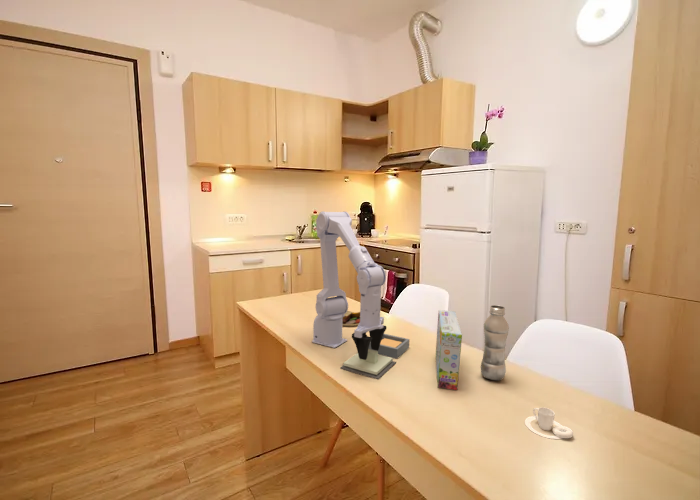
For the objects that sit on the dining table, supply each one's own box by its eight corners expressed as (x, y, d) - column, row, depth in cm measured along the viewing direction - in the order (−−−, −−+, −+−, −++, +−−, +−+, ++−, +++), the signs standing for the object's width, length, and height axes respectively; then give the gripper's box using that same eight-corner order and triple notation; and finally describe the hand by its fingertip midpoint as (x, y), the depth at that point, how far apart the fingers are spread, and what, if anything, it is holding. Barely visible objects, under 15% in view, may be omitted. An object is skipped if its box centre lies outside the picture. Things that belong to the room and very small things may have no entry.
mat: (340, 368, 102) (340, 367, 102) (360, 354, 112) (360, 352, 112) (378, 379, 96) (378, 378, 96) (396, 363, 106) (396, 361, 106)
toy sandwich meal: (355, 330, 134) (355, 317, 134) (325, 324, 141) (325, 312, 140) (369, 320, 145) (369, 309, 145) (340, 315, 152) (340, 304, 151)
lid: (343, 366, 102) (343, 352, 102) (361, 353, 111) (361, 341, 111) (376, 376, 97) (377, 361, 96) (392, 362, 106) (393, 348, 106)
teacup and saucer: (579, 441, 73) (581, 422, 72) (545, 446, 71) (547, 427, 71) (547, 416, 81) (549, 399, 81) (516, 420, 80) (518, 403, 79)
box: (368, 351, 114) (368, 342, 114) (381, 341, 123) (381, 333, 123) (397, 358, 109) (397, 349, 109) (409, 347, 118) (409, 339, 118)
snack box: (459, 391, 91) (463, 334, 89) (437, 388, 92) (440, 332, 90) (453, 357, 112) (455, 310, 110) (434, 355, 113) (436, 308, 111)
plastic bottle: (504, 374, 100) (509, 305, 98) (506, 385, 94) (511, 311, 92) (479, 370, 103) (484, 302, 100) (480, 381, 96) (485, 309, 94)
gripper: (371, 317, 94) (369, 366, 96) (393, 304, 106) (392, 348, 108) (348, 312, 97) (347, 360, 99) (372, 301, 110) (371, 343, 111)
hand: (369, 354), depth 104 cm, fingers open, 7 cm apart
